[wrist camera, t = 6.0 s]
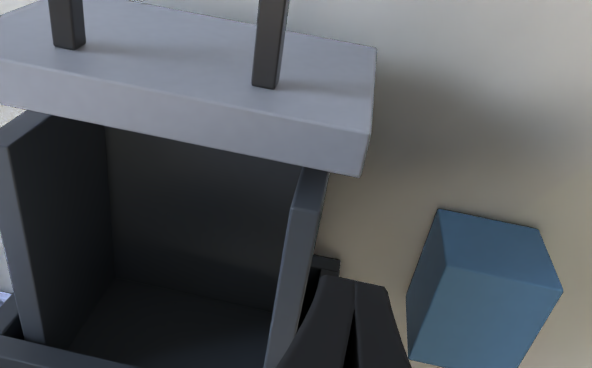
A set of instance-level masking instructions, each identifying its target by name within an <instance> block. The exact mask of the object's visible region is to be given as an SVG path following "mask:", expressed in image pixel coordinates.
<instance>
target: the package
mask: <svg viewBox="0 0 592 368" xmlns="http://www.w3.org/2000/svg"><path fill="white" fill-rule="evenodd" d="M562 293H563V288H562V285H561V283H560V280H559V278H558V276H557V273H556V271H555V268H554V266H553V263H552V261H551V259H550V256H549V254H548V251H547V249H546V246H545V244H544V242H543V239H542V237H541V234H540V232H539V230H538V229H535V228H530V227H525V226H520V225H515V224H510V223H506V222H501V221H496V220H491V219H486V218H481V217H477V216H472V215H467V214H462V213H457V212H452V211H448V210H443V209H438V210H437V213H436V216H435V218H434V221H433V224H432V227H431V229H430V232H429V235H428V238H427V240H426V243H425V246H424V248H423V251H422V254H421V257H420V259H419V262H418V265H417V268H416V270H415V273H414V276H413V278H412V281H411V284H410V287H409V289H408V292H407V295H406V316H407V344H408V359H409V360H414V361H418V362H422V363H427V364H431V365H436V366H440V367H445V368H518V366H519V365H520V363H521V361H522V360H523V358H524V356H525V355H526V353H527V351H528V350H529V348H530V346H531V345H532V343H533V341H534V340H535V338H536V336H537V335H538V333H539V331H540V330H541V328H542V326H543V325H544V323H545V321H546V320H547V318H548V316H549V315H550V313H551V311H552V310H553V308H554V306H555V305H556V303H557V301H558V300H559V298H560V296H561V295H562Z"/></svg>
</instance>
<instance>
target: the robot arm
mask: <svg viewBox="0 0 592 368" xmlns="http://www.w3.org/2000/svg"><path fill="white" fill-rule="evenodd" d="M10 296H11V294H10V293H5V292H1V291H0V307H1V306H2V304H3V303H4V302H5V301H6V300H7V299H8V298H9V297H10ZM276 368H411V365H410V363H409V360H408V357H407V355H406V352H405V349H404V346H403V344H402V341H401V337H400V334H399V331H398V328H397V325H396V322H395V319H394V315H393V312H392V308H391V304H390V300H389V296H388V292H387V290H386V289H385V287H383V286H378V285H374V284H369V283H364V282H359V281H355V280H350V279H345V278H340V277H336V276H331V275H324V276H322V277H320V281H319V285H318V289H317V291H316V294H315V297H314V300H313V302H312V304H311V307H310V309H309V311H308V313H307V315H306V317H305V319H304V321H303V323H302V325H301V326H300V328H299V330H298V332H297V334H296V335H295V337H294V339H293V341H292V342H291V344H290V346H289V348H288V349H287V351H286V353H285V354H284V356H283V357H282V359H281V360H280V362H279V363H278V365H277V366H276Z"/></svg>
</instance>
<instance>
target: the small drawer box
mask: <svg viewBox="0 0 592 368" xmlns="http://www.w3.org/2000/svg"><path fill="white" fill-rule="evenodd" d="M339 270H340V261H339V260H335V259H330V258H326V257H321V256H316V255H313V257H312V262H311V266H310V271H309V276H308V280H307V285H306V290H305V295H304V299H303V304H302V309H301V313H300V318H299V323H298V328H297V332H298V330H299V328H300V326H301V325H302V323H303V321H304V319H305V317H306V315H307V313H308V311H309V309H310V307H311V304H312V302H313V300H314V297H315V294H316V291H317V289H318V285H319V281H320V277H322V276H324V275H331V276H336V277H339ZM297 332H296V334H297ZM0 368H141V367H136V366H132V365H128V364H123V363H119V362H115V361H111V360H106V359H102V358H98V357H93V356H89V355H85V354H80V353H76V352H72V351H68V350H63V349H59V348H55V347H50V346H46V345H42V344H37V343H33V342H29V341H25V339H24V335H23V330H22V326H21V322H20V317H19V313H18V308H17V304H16V300H15V295H14V292H13V293H12V294H11V296H10V297H9V298H8V299H7V300H6V301H5V302H4V303H3V304H2V306H1V307H0Z"/></svg>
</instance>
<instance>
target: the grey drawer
mask: <svg viewBox="0 0 592 368" xmlns="http://www.w3.org/2000/svg"><path fill="white" fill-rule="evenodd" d="M289 1H290V0H259V7H258V17H257V25H255V24H250V23H244V22H239V21H234V20H229V19H223V18H218V17H213V16H208V15H202V14H197V13H192V12H187V11H181V10H176V9H171V8H166V7H160V6H155V5H150V4H145V3H139V2H134V1H129V0H40V1H37V2H34V3H32V4H29V5H26V6H24V7H21V8H18V9H15V10H13V11H10V12H7V13H5V14H2V15H0V104H1V105H6V106H11V107H16V108H21V109H26V110H27V111H25V112H24V113H22V114H21V115H19V116H17V117H16V118H14V119H13V120H11V121H10V122H8V123H7V124H5V125H4V126H2V127H1V128H0V234H1V238H2V242H3V247H4V251H5V256H6V260H7V264H8V269H9V273H10V278H11V282H12V286H13V291H14V295H15V300H16V304H17V308H18V313H19V317H20V322H21V326H22V330H23V335H24V339H25V341H29V342H33V343H37V344H42V345H46V346H50V347H55V348H59V349H63V350H68V351H72V352H76V353H80V354H85V355H89V356H93V357H98V358H102V359H106V360H111V361H115V362H119V363H123V364H128V365H132V366H136V367H141V368H276V366H277V365H278V363H279V362H280V360H281V359H282V357H283V356H284V354H285V353H286V351H287V349H288V348H289V346H290V344H291V342H292V341H293V339H294V337H295V335H296V332H297V328H298V323H299V318H300V313H301V309H302V304H303V299H304V295H305V290H306V285H307V280H308V276H309V271H310V266H311V262H312V257H313V252H314V247H315V243H316V238H317V233H318V228H319V224H320V219H321V214H322V209H323V204H324V199H325V194H326V189H327V184H328V179H329V174H330V172H332V173H337V174H342V175H347V176H352V177H356V178H359V177H360V176H361V174H362V170H363V166H364V162H365V158H366V154H367V150H368V146H369V142H370V138H371V131H372V117H373V103H374V89H375V75H376V61H377V48H375V47H370V46H365V45H360V44H354V43H349V42H344V41H339V40H333V39H328V38H323V37H318V36H313V35H307V34H302V33H297V32H292V31H286V24H287V16H288V9H289Z"/></svg>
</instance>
